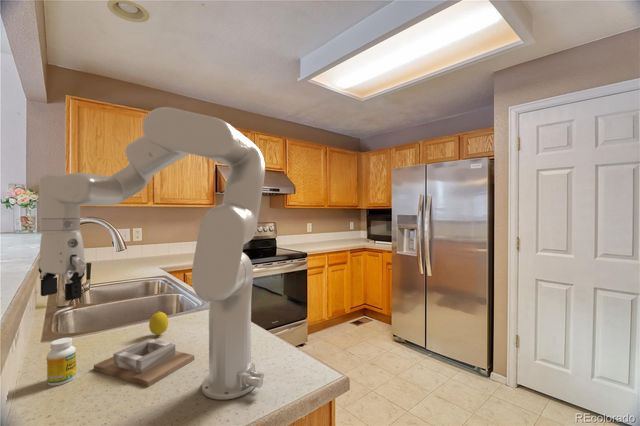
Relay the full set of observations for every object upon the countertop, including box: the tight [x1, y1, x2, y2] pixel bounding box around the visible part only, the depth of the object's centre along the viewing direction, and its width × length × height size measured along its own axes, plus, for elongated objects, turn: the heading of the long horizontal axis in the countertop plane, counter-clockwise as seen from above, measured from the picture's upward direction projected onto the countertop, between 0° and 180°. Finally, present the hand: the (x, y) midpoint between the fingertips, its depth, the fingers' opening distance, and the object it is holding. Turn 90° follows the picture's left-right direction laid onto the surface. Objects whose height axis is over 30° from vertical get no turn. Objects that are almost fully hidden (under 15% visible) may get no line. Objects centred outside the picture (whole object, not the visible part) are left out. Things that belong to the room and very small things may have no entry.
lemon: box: [148, 311, 169, 337], centre depth 101 cm, size 6×6×8 cm
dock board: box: [93, 338, 195, 387], centre depth 82 cm, size 20×14×4 cm
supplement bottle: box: [46, 337, 77, 387], centre depth 74 cm, size 5×5×10 cm
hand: (61, 296), depth 74 cm, fingers open, 9 cm apart
